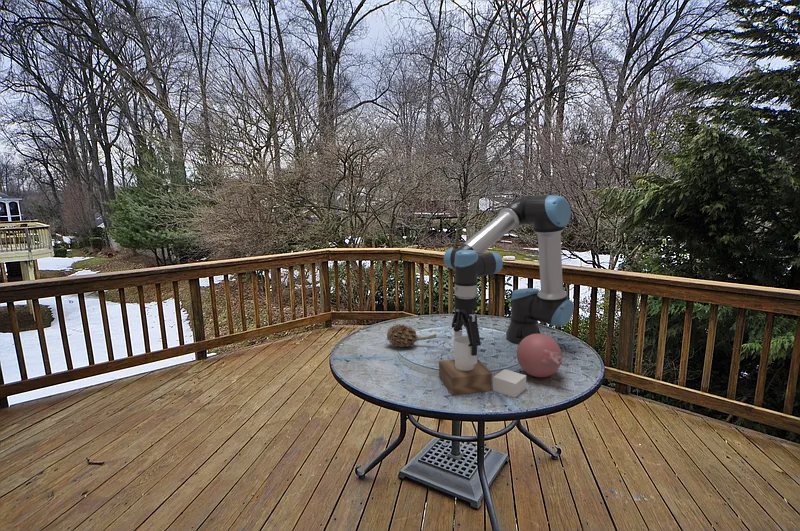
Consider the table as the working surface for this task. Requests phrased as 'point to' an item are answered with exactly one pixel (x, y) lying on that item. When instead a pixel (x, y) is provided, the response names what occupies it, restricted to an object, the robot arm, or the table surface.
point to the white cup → (462, 353)
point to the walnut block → (465, 378)
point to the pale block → (509, 383)
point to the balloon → (539, 355)
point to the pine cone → (404, 336)
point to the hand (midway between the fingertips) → (465, 355)
